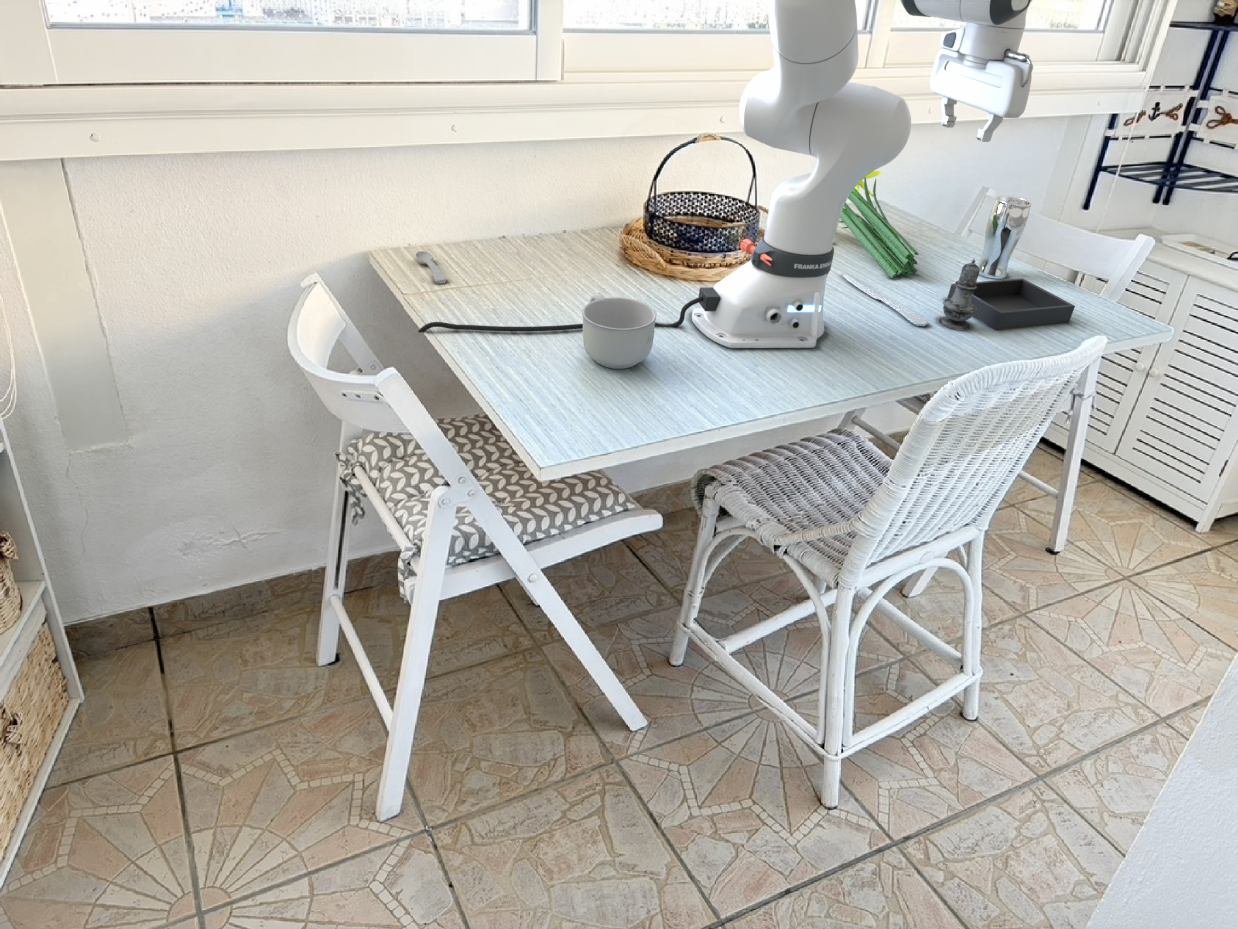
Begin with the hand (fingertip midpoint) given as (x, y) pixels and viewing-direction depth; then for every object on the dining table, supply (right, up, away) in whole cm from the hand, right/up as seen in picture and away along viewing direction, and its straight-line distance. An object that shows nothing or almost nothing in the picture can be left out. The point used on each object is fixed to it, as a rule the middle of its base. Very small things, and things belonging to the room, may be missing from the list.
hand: (964, 133), depth 154 cm
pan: (+14, -27, +16) cm, 34 cm away
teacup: (-59, -39, -15) cm, 72 cm away
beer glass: (+18, -17, +33) cm, 41 cm away
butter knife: (-10, -25, +15) cm, 31 cm away
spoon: (-91, -22, +7) cm, 94 cm away
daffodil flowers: (-7, -11, +38) cm, 40 cm away
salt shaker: (+1, -31, +8) cm, 32 cm away
